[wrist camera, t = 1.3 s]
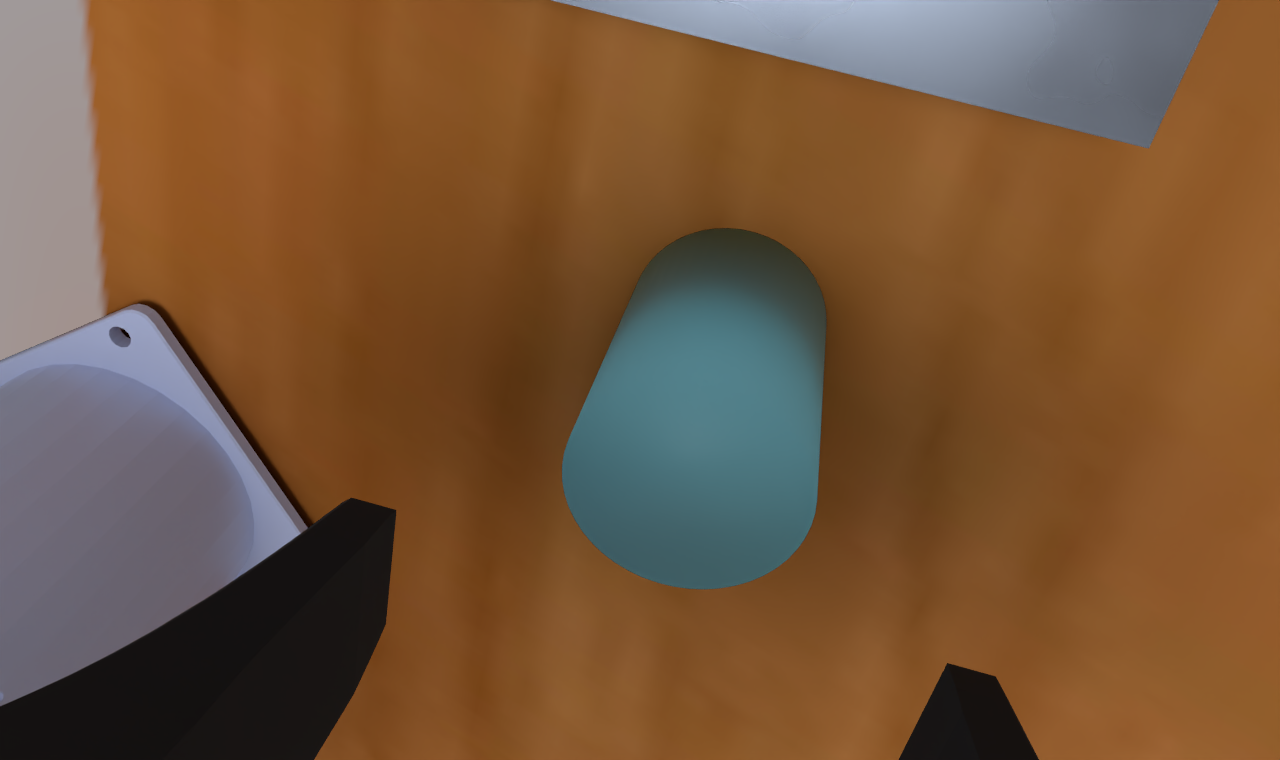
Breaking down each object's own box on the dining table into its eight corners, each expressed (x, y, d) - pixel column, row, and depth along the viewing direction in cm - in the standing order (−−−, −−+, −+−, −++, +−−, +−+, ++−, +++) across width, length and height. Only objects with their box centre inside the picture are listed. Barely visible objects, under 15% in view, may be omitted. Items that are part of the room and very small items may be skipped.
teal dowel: (677, 424, 23) (626, 610, 18) (599, 266, 21) (518, 419, 16) (854, 373, 21) (853, 558, 16) (785, 199, 20) (760, 343, 15)
